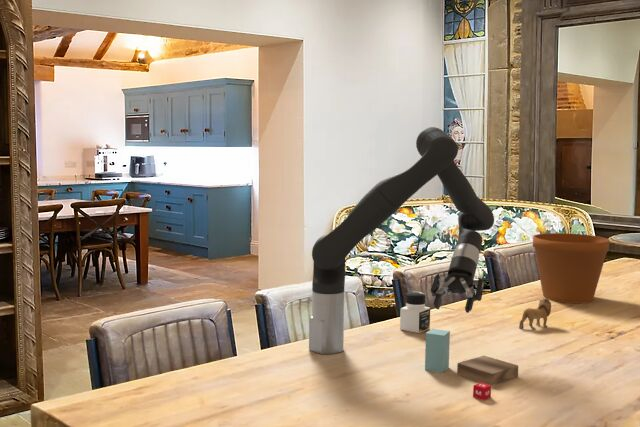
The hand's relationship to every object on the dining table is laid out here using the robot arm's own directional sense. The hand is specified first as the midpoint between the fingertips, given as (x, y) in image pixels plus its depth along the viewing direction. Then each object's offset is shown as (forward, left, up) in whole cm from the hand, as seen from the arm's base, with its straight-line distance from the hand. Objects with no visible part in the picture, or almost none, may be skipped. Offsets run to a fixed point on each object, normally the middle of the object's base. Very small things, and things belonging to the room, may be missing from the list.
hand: (451, 309), depth 203 cm
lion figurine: (+49, +5, -14) cm, 51 cm away
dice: (-18, -25, -14) cm, 34 cm away
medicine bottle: (+15, +27, -14) cm, 34 cm away
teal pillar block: (-10, -4, -14) cm, 18 cm away
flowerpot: (+98, +23, -14) cm, 102 cm away
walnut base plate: (-4, -16, -14) cm, 21 cm away
